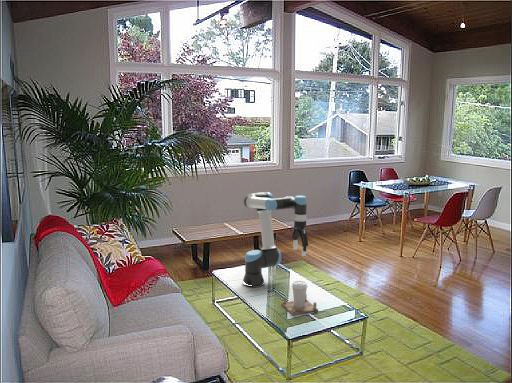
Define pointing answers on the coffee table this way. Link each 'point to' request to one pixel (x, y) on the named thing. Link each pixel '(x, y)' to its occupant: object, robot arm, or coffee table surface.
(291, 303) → the standoff base
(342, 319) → the coffee table surface
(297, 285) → the coffee cup
